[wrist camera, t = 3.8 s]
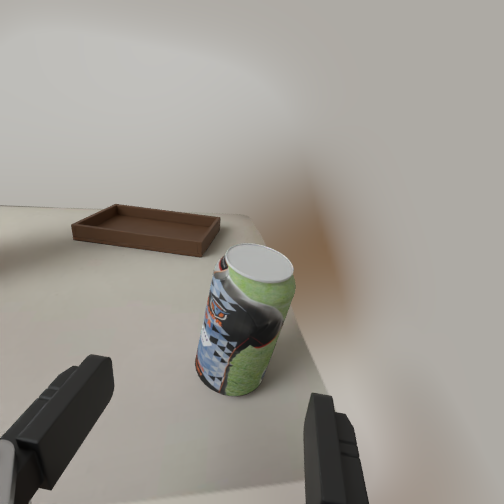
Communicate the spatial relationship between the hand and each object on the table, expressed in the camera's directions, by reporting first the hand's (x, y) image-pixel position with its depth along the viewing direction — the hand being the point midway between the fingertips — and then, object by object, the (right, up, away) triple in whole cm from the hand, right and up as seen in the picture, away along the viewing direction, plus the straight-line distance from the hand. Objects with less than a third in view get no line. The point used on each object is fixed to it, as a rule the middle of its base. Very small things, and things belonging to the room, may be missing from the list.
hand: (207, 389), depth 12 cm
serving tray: (-16, +9, +42) cm, 46 cm away
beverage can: (0, -6, +15) cm, 16 cm away
